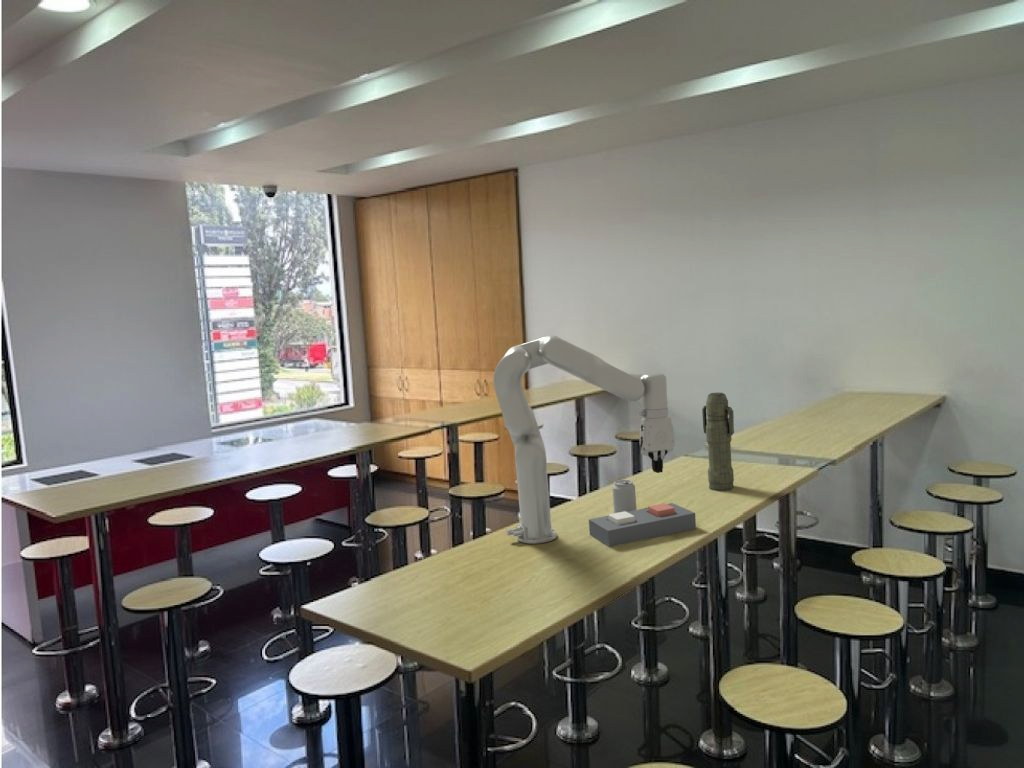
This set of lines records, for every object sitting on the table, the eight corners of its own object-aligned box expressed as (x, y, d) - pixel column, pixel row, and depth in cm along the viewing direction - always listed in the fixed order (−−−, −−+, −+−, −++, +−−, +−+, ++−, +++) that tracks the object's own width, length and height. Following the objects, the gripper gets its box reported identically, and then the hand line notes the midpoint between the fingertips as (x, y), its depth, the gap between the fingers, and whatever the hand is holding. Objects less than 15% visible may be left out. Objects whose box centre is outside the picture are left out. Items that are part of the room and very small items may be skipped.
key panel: (609, 547, 212) (607, 530, 211) (589, 534, 224) (588, 519, 224) (696, 528, 222) (695, 513, 221) (673, 517, 234) (672, 502, 233)
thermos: (731, 492, 257) (727, 395, 252) (701, 489, 264) (696, 395, 260) (742, 486, 263) (737, 392, 259) (711, 483, 271) (707, 391, 267)
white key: (617, 532, 217) (617, 519, 216) (608, 527, 222) (607, 514, 222) (635, 528, 218) (634, 516, 218) (626, 523, 224) (625, 511, 224)
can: (636, 519, 235) (634, 484, 234) (613, 520, 236) (611, 484, 235) (637, 513, 242) (635, 478, 241) (614, 513, 244) (612, 479, 242)
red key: (658, 523, 221) (657, 511, 221) (648, 518, 227) (647, 506, 226) (675, 520, 223) (674, 507, 223) (665, 515, 229) (664, 503, 228)
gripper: (639, 418, 215) (642, 477, 217) (683, 412, 220) (685, 470, 222) (627, 414, 222) (630, 472, 224) (669, 409, 227) (672, 466, 229)
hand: (657, 471), depth 223 cm, fingers closed
